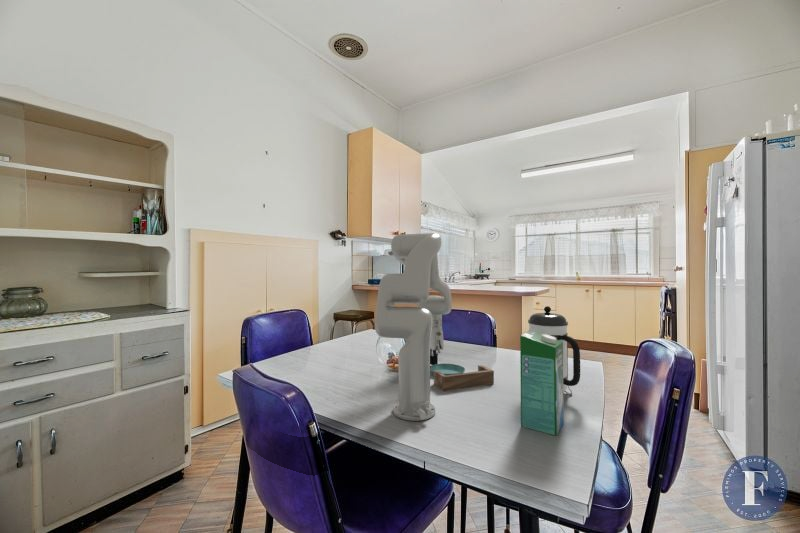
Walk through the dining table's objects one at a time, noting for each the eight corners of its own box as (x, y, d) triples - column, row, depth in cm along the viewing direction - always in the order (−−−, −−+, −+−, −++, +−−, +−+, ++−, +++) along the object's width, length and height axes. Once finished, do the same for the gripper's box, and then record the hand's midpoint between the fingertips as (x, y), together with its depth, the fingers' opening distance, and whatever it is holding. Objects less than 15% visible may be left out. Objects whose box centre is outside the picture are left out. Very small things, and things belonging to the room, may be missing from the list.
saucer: (472, 376, 134) (472, 370, 134) (443, 383, 126) (443, 376, 126) (450, 367, 146) (450, 361, 146) (422, 372, 139) (422, 366, 139)
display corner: (493, 384, 124) (493, 370, 124) (444, 391, 117) (443, 377, 117) (481, 377, 132) (481, 364, 132) (433, 384, 124) (433, 370, 124)
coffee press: (522, 396, 112) (521, 307, 112) (528, 382, 126) (527, 303, 126) (580, 406, 104) (579, 310, 104) (579, 389, 118) (579, 305, 118)
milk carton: (556, 436, 85) (555, 338, 85) (520, 426, 91) (520, 334, 91) (563, 423, 92) (563, 333, 93) (530, 414, 98) (529, 329, 98)
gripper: (449, 325, 142) (449, 368, 142) (433, 320, 156) (433, 359, 156) (433, 326, 140) (433, 369, 140) (419, 321, 154) (419, 360, 154)
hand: (433, 364), depth 148 cm, fingers closed
